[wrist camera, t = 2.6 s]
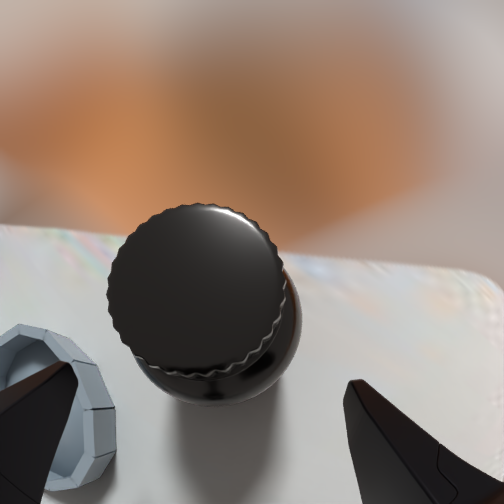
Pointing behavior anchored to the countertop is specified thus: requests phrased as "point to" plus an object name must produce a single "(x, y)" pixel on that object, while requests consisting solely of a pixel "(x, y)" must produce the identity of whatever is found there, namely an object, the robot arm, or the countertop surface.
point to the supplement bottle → (205, 305)
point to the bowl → (83, 409)
